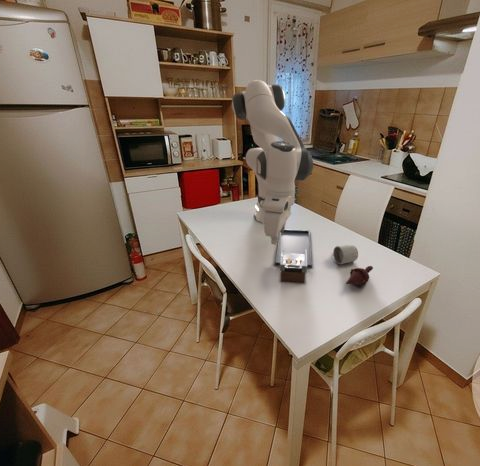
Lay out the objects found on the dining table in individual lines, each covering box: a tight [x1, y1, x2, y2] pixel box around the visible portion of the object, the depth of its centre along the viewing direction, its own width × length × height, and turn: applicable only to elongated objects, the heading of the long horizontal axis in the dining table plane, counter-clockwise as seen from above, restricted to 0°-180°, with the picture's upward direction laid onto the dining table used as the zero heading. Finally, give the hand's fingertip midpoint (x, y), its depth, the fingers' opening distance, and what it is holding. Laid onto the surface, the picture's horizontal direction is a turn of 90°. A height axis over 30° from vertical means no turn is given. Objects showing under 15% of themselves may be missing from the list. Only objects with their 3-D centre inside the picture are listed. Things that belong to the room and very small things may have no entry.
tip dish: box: [279, 248, 308, 274], centre depth 101 cm, size 15×10×3 cm, turn 174°
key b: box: [295, 258, 302, 265], centre depth 102 cm, size 6×2×1 cm, turn 174°
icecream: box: [346, 265, 374, 287], centre depth 98 cm, size 7×7×15 cm
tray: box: [274, 228, 313, 269], centre depth 123 cm, size 31×15×2 cm, turn 174°
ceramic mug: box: [332, 244, 359, 265], centre depth 113 cm, size 11×8×8 cm
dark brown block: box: [280, 271, 306, 284], centre depth 103 cm, size 9×9×5 cm
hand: (278, 237), depth 87 cm, fingers open, 8 cm apart
